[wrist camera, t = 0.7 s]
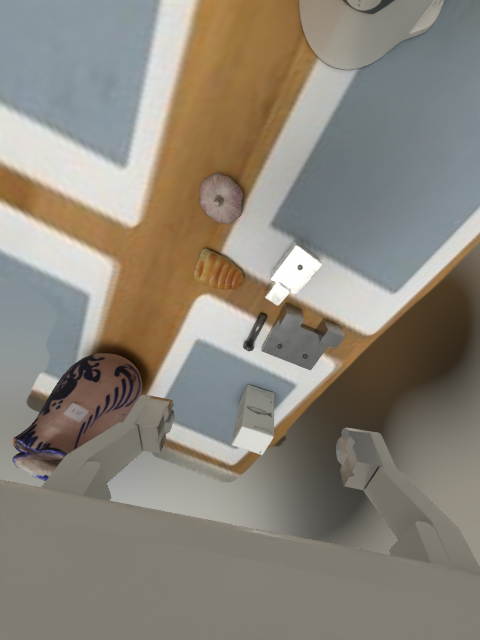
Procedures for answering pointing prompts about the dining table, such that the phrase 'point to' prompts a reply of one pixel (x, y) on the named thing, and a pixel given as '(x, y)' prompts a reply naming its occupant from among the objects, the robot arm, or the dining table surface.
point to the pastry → (217, 271)
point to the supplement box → (254, 420)
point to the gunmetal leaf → (300, 338)
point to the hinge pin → (255, 332)
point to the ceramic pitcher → (78, 411)
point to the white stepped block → (292, 273)
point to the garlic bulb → (221, 198)
